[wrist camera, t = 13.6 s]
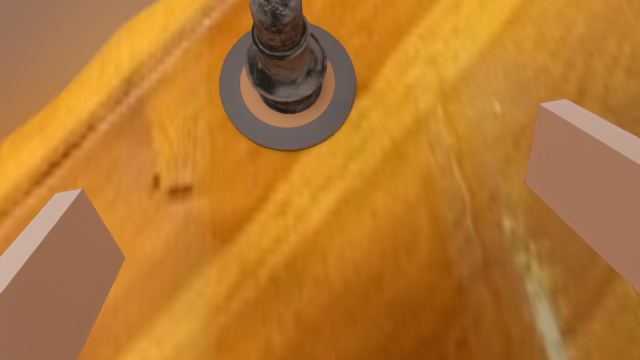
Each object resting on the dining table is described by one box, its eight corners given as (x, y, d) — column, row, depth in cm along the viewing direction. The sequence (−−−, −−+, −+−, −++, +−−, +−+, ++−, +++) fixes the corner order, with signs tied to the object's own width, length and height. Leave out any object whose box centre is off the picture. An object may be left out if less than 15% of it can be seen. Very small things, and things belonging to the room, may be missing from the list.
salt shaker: (331, 54, 30) (340, -66, 18) (320, 123, 29) (322, 43, 17) (260, 43, 30) (223, -82, 18) (247, 112, 29) (199, 25, 18)
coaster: (381, 93, 31) (384, 89, 30) (279, 178, 29) (278, 177, 29) (296, 1, 32) (296, -6, 31) (194, 79, 31) (191, 74, 30)
